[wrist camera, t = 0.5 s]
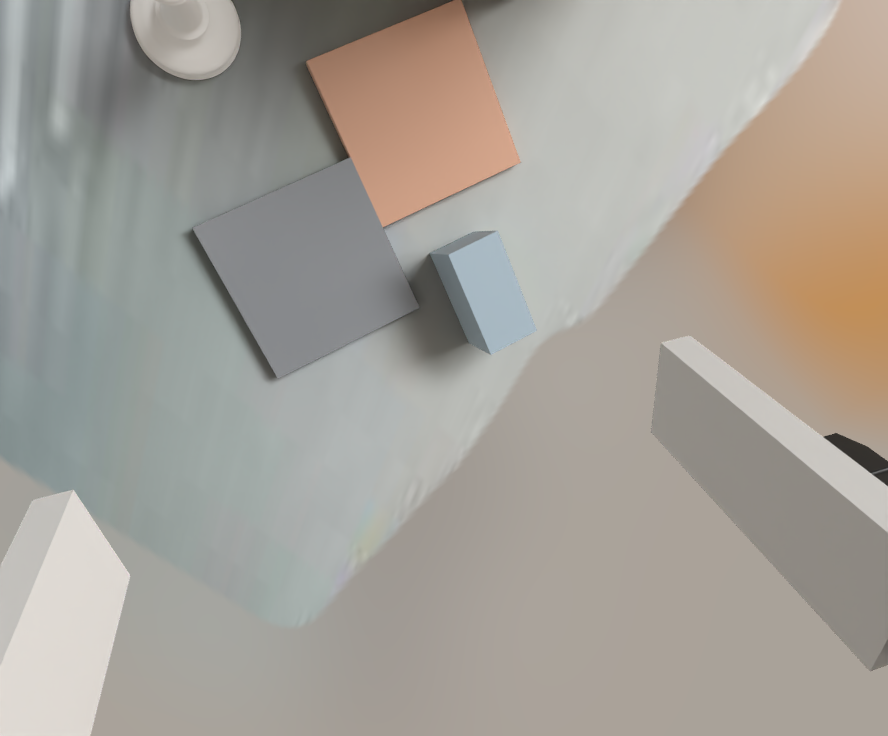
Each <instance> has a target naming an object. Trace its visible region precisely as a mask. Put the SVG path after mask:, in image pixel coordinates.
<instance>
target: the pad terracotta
mask: <svg viewBox="0 0 888 736" xmlns="http://www.w3.org/2000/svg"><path fill="white" fill-rule="evenodd" d="M306 66H307V68H308V70H309V72H310V74H311V77H312V79H313V81H314V83H315V85H316V87H317V90H318V92H319V94H320V96H321V98H322V100H323V103H324V105H325V107H326V109H327V111H328V114H329V116H330V118H331V120H332V122H333V124H334V127H335V129H336V131H337V133H338V135H339V137H340V140H341V142H342V144H343V146H344V148H345V150H346V153H347V155H348V157H349V158H350V157H351V159H352V161H353V163H354V166H355V168H356V170H357V172H358V174H359V177H360V179H361V181H362V183H363V185H364V187H365V190H366V192H367V194H368V196H369V198H370V201H371V203H372V205H373V207H374V209H375V211H376V214H377V216H378V218H379V220H380V222H381V225H382V227H385V226H387V225H389V224H391V223H393V222H395V221H397V220H399V219H402V218H404V217H406V216H408V215H410V214H412V213H414V212H416V211H419V210H421V209H423V208H425V207H427V206H429V205H431V204H433V203H435V202H438V201H440V200H442V199H444V198H446V197H448V196H450V195H452V194H455V193H457V192H459V191H461V190H463V189H465V188H467V187H469V186H472V185H474V184H476V183H478V182H480V181H482V180H484V179H486V178H489V177H491V176H493V175H495V174H497V173H499V172H501V171H503V170H506V169H508V168H510V167H512V166H514V165H516V164H518V163H520V159H519V156H518V154H517V151H516V148H515V145H514V143H513V140H512V137H511V135H510V132H509V129H508V126H507V124H506V121H505V118H504V115H503V113H502V110H501V107H500V104H499V102H498V99H497V96H496V93H495V91H494V88H493V85H492V82H491V80H490V77H489V74H488V72H487V69H486V66H485V63H484V61H483V58H482V55H481V52H480V50H479V47H478V44H477V41H476V39H475V36H474V33H473V30H472V28H471V25H470V22H469V20H468V17H467V14H466V11H465V9H464V6H463V3H462V0H454V1H451V2H449V3H446V4H444V5H441V6H439V7H437V8H434V9H432V10H429V11H427V12H424V13H422V14H420V15H417V16H415V17H412V18H410V19H407V20H405V21H403V22H400V23H398V24H395V25H393V26H390V27H388V28H385V29H383V30H381V31H378V32H376V33H373V34H371V35H368V36H366V37H364V38H361V39H359V40H356V41H354V42H351V43H349V44H347V45H344V46H342V47H339V48H337V49H334V50H332V51H329V52H327V53H325V54H322V55H320V56H317V57H315V58H312V59H310V60H308V61H306Z"/></svg>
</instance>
